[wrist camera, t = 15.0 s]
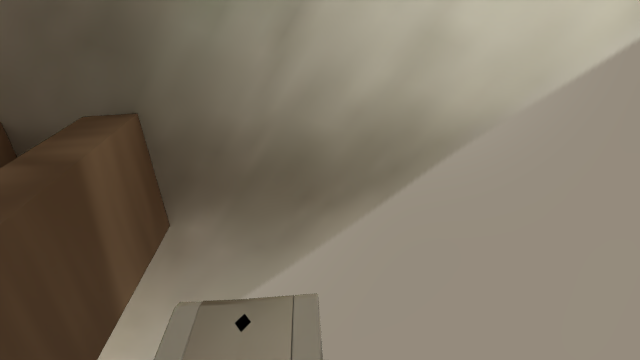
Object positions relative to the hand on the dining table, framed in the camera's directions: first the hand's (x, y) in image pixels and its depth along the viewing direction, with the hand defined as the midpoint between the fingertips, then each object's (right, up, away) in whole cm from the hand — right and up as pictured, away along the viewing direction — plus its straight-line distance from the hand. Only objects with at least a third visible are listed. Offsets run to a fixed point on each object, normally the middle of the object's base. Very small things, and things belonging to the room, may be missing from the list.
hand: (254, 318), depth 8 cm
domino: (-6, +3, +7) cm, 10 cm away
